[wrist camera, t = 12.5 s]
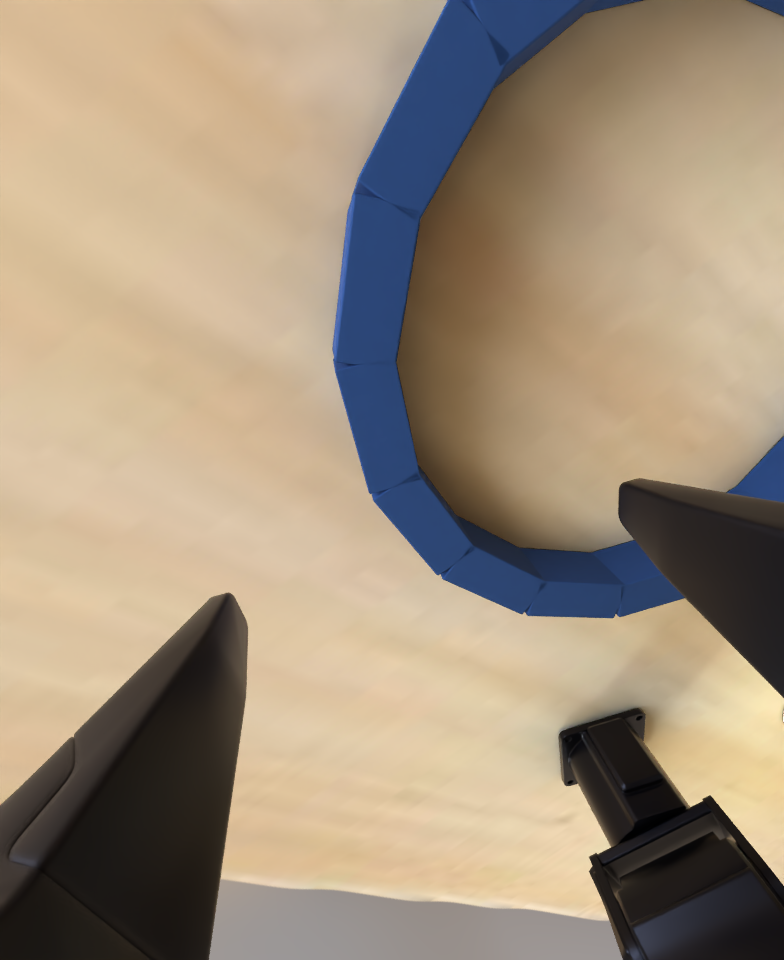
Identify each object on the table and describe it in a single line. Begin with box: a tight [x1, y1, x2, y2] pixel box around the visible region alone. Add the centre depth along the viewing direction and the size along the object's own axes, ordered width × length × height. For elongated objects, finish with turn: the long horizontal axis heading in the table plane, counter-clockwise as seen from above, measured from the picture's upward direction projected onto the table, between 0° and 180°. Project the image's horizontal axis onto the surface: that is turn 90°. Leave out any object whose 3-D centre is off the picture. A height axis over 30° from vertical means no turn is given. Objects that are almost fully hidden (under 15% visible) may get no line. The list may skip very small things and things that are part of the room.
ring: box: [333, 0, 784, 618], centre depth 18 cm, size 27×27×3 cm
